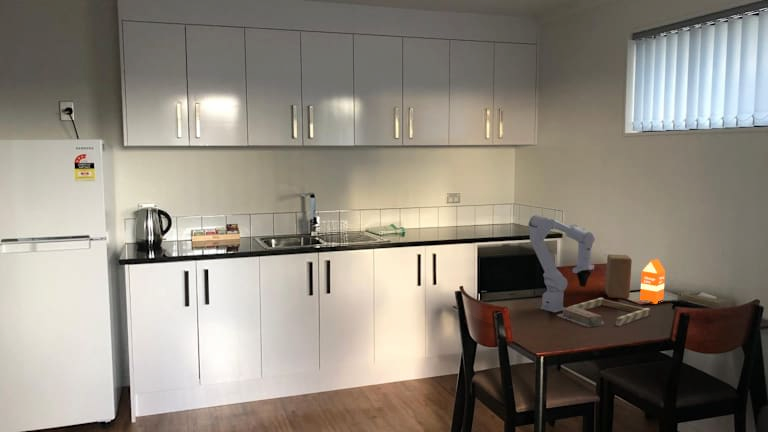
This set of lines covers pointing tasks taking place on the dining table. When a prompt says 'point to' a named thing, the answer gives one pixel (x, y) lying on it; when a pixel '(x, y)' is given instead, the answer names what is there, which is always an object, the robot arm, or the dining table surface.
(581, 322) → the packaged product
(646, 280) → the orange juice
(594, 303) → the beige wooden frame
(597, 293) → the dining table surface
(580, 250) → the robot arm
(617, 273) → the wooden block
